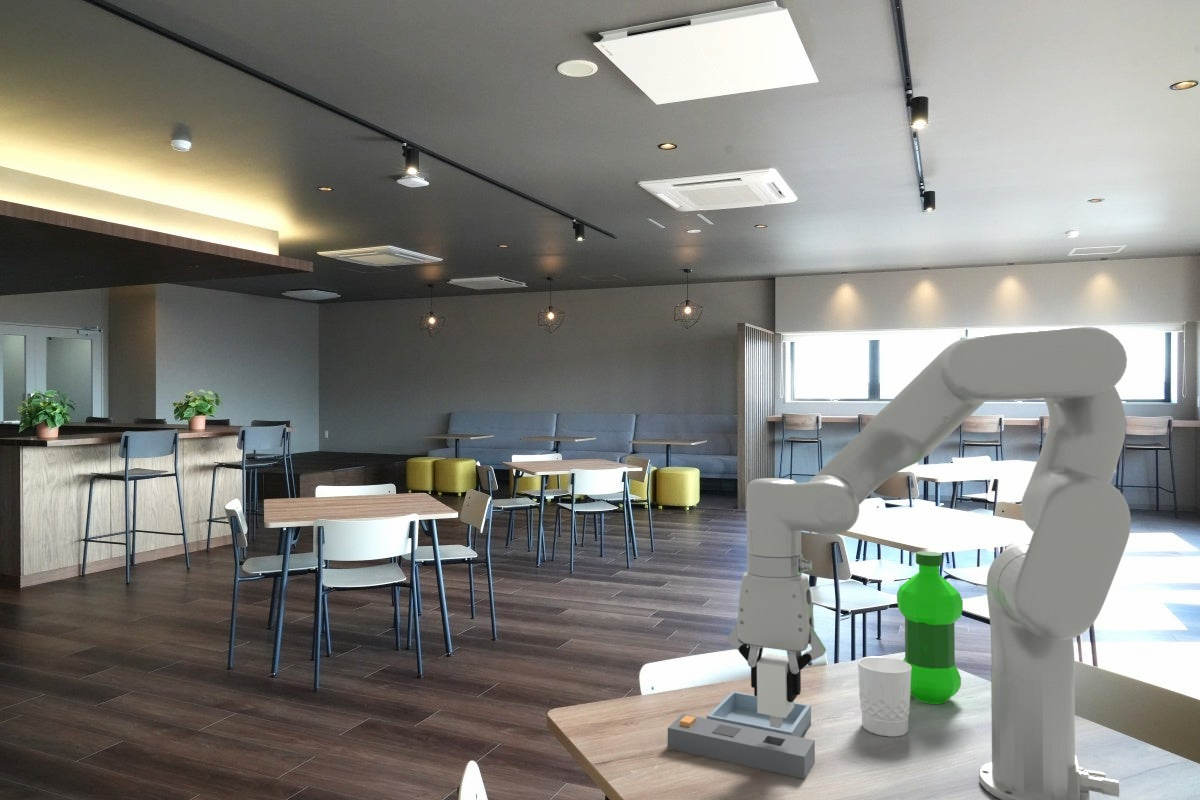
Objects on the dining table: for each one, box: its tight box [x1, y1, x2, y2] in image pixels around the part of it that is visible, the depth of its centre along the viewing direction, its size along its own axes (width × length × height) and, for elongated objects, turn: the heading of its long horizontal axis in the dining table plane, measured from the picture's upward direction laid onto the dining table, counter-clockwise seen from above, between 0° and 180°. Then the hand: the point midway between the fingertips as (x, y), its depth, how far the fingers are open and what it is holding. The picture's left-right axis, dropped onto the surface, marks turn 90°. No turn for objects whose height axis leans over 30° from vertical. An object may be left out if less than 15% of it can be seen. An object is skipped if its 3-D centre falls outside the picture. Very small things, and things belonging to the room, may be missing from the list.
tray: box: [706, 690, 812, 738], centre depth 120 cm, size 13×12×3 cm
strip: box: [667, 713, 816, 780], centre depth 111 cm, size 20×6×4 cm, turn 62°
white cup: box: [857, 655, 912, 738], centre depth 121 cm, size 8×8×10 cm
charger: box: [757, 653, 795, 728], centre depth 109 cm, size 4×5×9 cm
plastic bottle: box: [896, 550, 964, 705], centre depth 134 cm, size 10×10×25 cm
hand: (775, 694), depth 109 cm, fingers closed on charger, 4 cm apart
